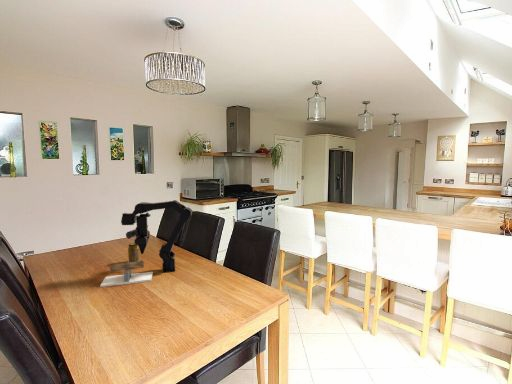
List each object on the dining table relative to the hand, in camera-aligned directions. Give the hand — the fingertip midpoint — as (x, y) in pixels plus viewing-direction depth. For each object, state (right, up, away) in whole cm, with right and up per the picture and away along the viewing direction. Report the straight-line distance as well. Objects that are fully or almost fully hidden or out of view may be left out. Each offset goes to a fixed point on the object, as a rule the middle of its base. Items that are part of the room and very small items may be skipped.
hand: (143, 251), depth 158 cm
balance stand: (-4, -13, -10) cm, 17 cm away
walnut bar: (-4, -7, -11) cm, 14 cm away
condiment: (-13, -11, +16) cm, 23 cm away
